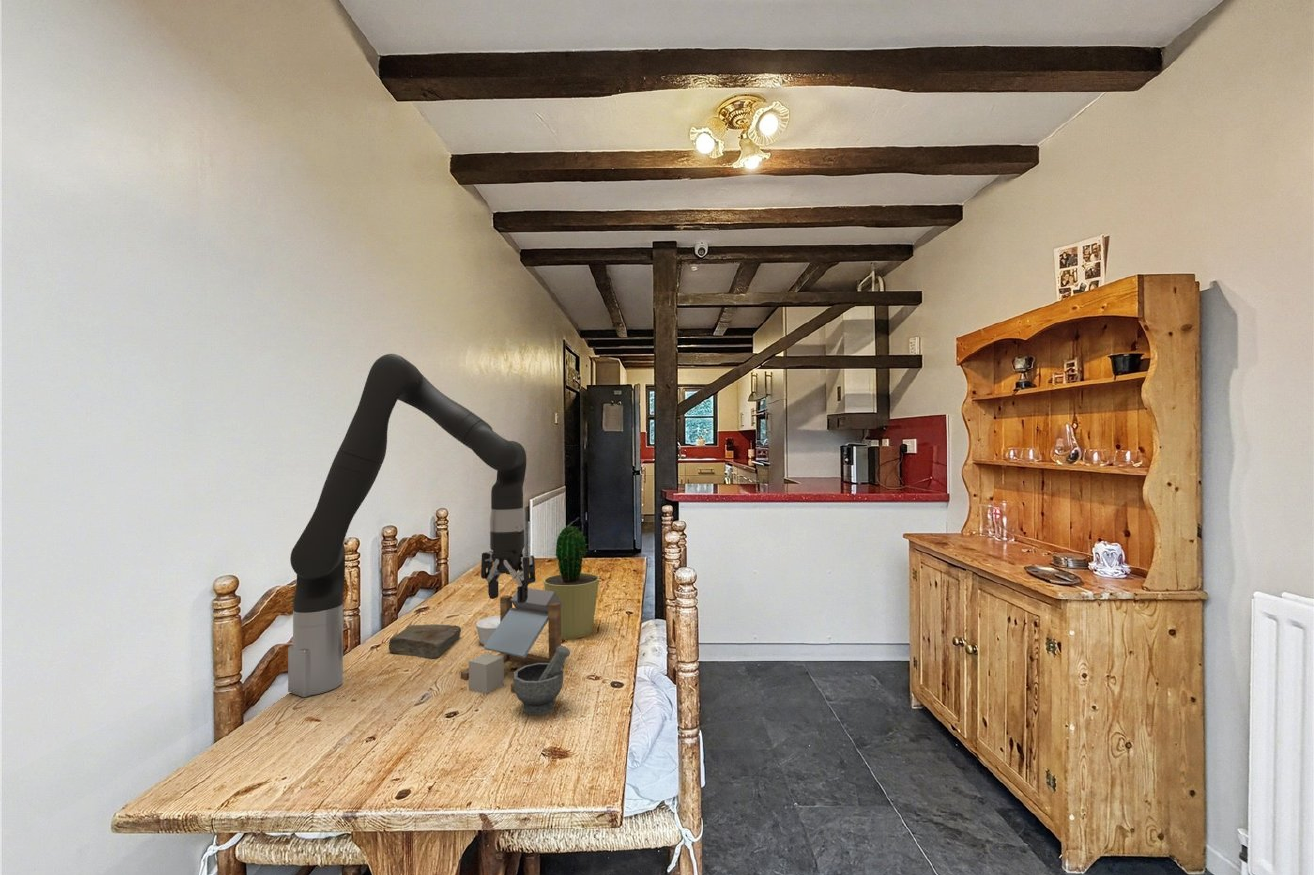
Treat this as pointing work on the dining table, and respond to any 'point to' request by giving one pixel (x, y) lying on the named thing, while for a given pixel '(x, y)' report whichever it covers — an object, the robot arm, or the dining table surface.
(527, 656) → the frame
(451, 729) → the dining table surface
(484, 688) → the grey block
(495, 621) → the ramekin
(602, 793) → the dining table surface
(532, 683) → the mortar and pestle
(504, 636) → the trapdoor
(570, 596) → the potted cactus
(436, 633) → the dark stone slab
